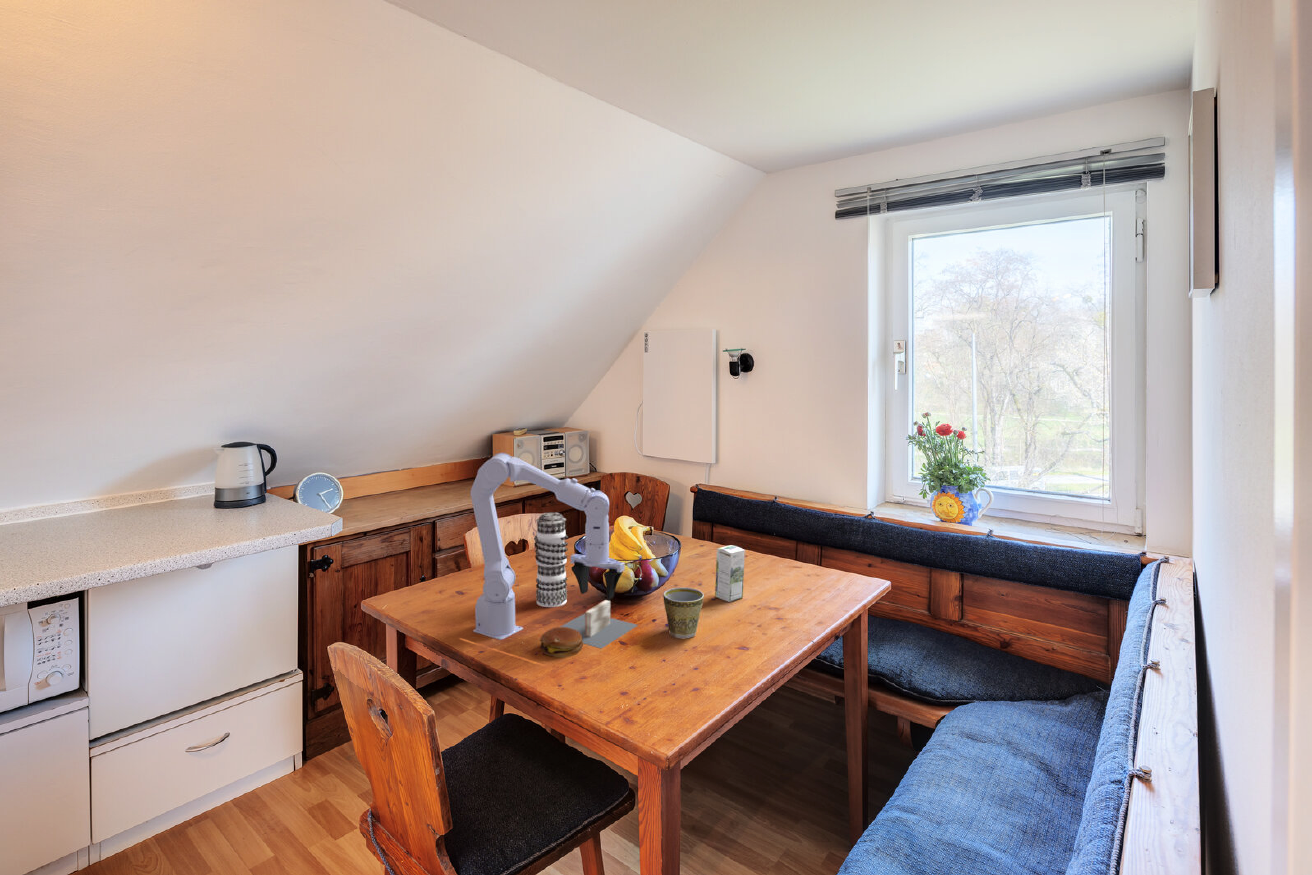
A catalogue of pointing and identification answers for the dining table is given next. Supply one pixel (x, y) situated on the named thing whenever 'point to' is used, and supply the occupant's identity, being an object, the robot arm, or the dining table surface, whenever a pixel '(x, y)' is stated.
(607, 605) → the tile
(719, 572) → the syrup box
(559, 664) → the dining table surface
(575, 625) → the mat
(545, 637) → the burger
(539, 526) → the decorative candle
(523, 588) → the dining table surface
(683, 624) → the ceramic cup
